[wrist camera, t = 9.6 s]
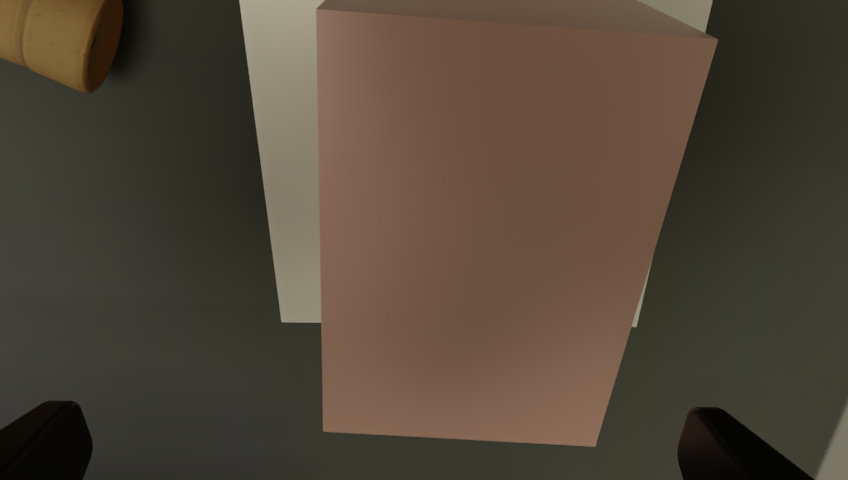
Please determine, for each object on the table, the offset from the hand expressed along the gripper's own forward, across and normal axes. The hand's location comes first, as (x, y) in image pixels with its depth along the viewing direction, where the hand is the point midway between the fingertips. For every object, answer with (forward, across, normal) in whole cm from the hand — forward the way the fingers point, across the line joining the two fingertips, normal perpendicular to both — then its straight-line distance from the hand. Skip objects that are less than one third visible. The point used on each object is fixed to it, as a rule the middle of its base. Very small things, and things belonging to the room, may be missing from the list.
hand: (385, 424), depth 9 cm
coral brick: (+7, -2, -1) cm, 7 cm away
